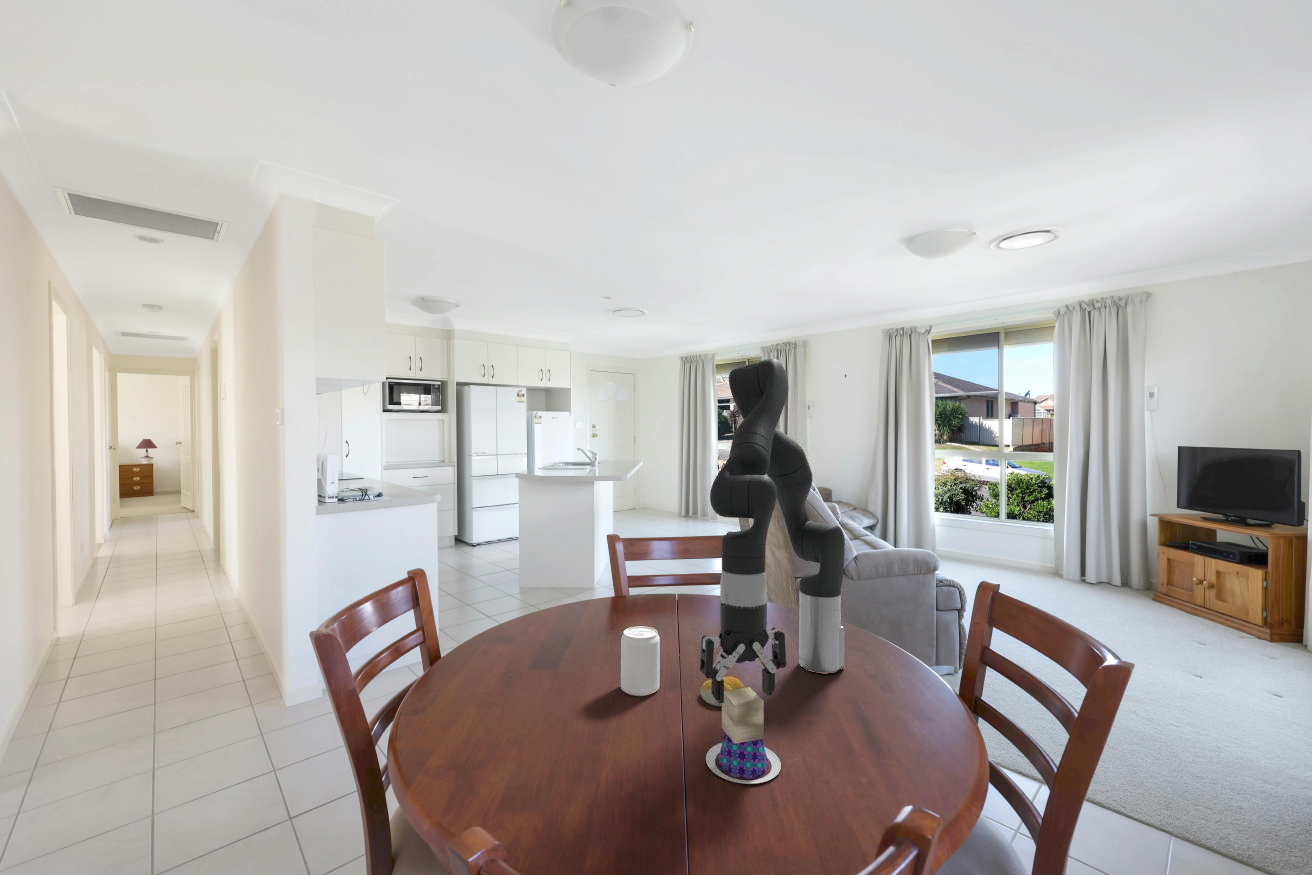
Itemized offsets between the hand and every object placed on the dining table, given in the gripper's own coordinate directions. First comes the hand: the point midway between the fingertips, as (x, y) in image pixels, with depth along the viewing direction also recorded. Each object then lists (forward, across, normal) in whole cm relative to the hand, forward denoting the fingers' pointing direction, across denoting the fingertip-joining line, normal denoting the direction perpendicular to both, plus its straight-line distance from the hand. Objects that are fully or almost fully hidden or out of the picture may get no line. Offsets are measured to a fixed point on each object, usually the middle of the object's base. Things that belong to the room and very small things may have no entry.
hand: (743, 697), depth 90 cm
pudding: (+11, 0, 0) cm, 11 cm away
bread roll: (+11, -6, -22) cm, 25 cm away
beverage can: (+11, +9, -30) cm, 33 cm away
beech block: (+6, 0, 0) cm, 6 cm away
